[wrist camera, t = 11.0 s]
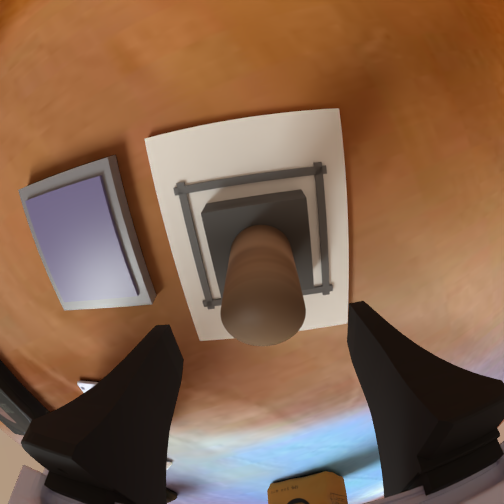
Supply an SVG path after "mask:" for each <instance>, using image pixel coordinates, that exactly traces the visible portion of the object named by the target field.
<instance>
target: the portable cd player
mask: <svg viewBox="0 0 504 504" xmlns="http://www.w3.org/2000/svg"><path fill="white" fill-rule="evenodd" d="M48 413H50V412H49V411H48V410H47V409H46V408H45V407H44V406H43V405H42V404H41V403H40V402H39V401H38V400H37V399H36V398H35V397H34V396H33V395H32V394H31V393H30V392H29V391H28V390H27V389H26V388H25V387H24V386H23V385H22V384H21V383H20V382H19V381H18V380H17V379H16V377H15V376H14V375H13V374H12V373H11V372H10V371H9V369H8V368H7V367H6V366H5V365H4V364H3V362H2V361H1V360H0V421H1V422H3V423H4V424H5V425H6V426H7V427H8V428H9V429H10V430H11V431H12V432H14V433H15V434H19V435H25V433H26V431H27V429H28V427H29V425H30V423H31V421H32V420H33V419H36V418H39V417H41V416H43V415H46V414H48Z"/></svg>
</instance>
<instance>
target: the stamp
mask: <svg viewBox="0 0 504 504" xmlns="http://www.w3.org/2000/svg"><path fill="white" fill-rule="evenodd" d="M201 217H202V221H203V225H204V230H205V234H206V238H207V242H208V247H209V251H210V255H211V259H212V263H213V267H214V271H215V275H216V279H217V283H218V287H219V291H220V295H221V299H222V304H221V311H220V315H221V321H222V323H223V325H224V327H225V329H226V330H227V332H228V333H229V334H230V335H231V336H233V337H234V338H235V339H237V340H239V341H241V342H243V343H246V344H249V345H253V346H271V345H276V344H279V343H282V342H284V341H286V340H288V339H290V338H291V337H292V336H294V335H295V334H296V333H297V332H298V331H299V329H300V328H301V327H302V325H303V323H304V320H305V316H306V308H305V303H304V298H303V294H302V290H308V289H314V279H313V265H312V252H311V240H310V228H309V218H308V208H307V198H306V196H305V194H304V193H303V191H302V190H301V189H299V190H292V191H284V192H277V193H270V194H263V195H256V196H249V197H243V198H237V199H230V200H224V201H218V202H212V203H206V205H205V207H204V208H203V210H202V212H201Z"/></svg>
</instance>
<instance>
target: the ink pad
mask: <svg viewBox="0 0 504 504" xmlns="http://www.w3.org/2000/svg"><path fill="white" fill-rule="evenodd" d="M18 191H19V194H20V198H21V201H22V205H23V208H24V211H25V214H26V218H27V221H28V224H29V227H30V230H31V233H32V235H33V238H34V241H35V244H36V246H37V249H38V252H39V254H40V257H41V259H42V262H43V264H44V267H45V269H46V271H47V274H48V276H49V278H50V281H51V283H52V285H53V287H54V290H55V292H56V294H57V296H58V298H59V300H60V302H61V304H62V306H63V308H64V310H79V309H96V308H111V307H125V306H138V305H150V304H153V301H154V299H155V297H156V293H155V290H154V287H153V284H152V282H151V279H150V276H149V273H148V270H147V267H146V264H145V261H144V258H143V255H142V251H141V248H140V245H139V242H138V238H137V235H136V232H135V228H134V225H133V222H132V218H131V215H130V211H129V207H128V204H127V200H126V196H125V192H124V188H123V184H122V180H121V176H120V172H119V168H118V164H117V159H116V155H113V156H109V157H106V158H103V159H100V160H96V161H93V162H90V163H87V164H84V165H81V166H78V167H75V168H73V169H70V170H67V171H64V172H62V173H59V174H56V175H53V176H51V177H48V178H46V179H43V180H41V181H38V182H36V183H33V184H31V185H28V186H26V187H24V188H22V189H20V190H18Z"/></svg>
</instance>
